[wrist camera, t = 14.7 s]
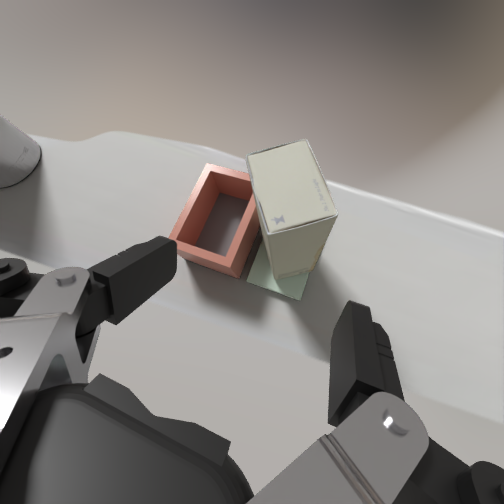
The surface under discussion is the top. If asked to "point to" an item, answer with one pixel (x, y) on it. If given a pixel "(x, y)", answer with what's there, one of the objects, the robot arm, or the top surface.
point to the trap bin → (218, 221)
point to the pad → (265, 279)
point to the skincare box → (291, 206)
